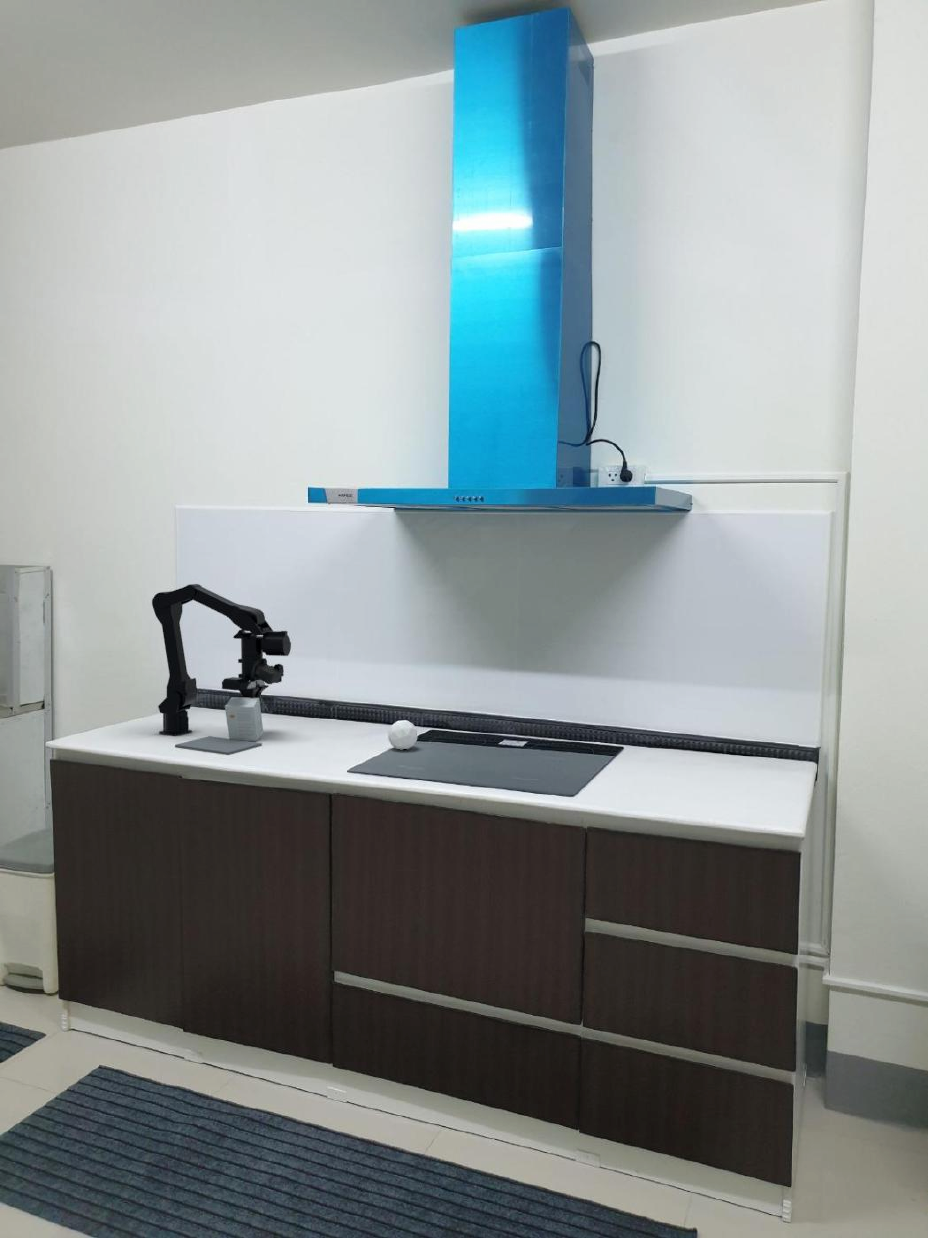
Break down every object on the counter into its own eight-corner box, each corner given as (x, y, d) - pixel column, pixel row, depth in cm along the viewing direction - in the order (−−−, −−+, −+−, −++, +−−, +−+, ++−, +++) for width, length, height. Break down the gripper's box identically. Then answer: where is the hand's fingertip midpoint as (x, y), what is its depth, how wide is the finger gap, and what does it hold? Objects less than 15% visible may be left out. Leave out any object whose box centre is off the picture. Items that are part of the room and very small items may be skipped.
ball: (410, 758, 252) (428, 735, 251) (391, 753, 246) (410, 729, 245) (395, 740, 257) (413, 717, 256) (376, 734, 250) (395, 711, 249)
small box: (263, 731, 263) (260, 697, 259) (257, 741, 258) (253, 706, 254) (235, 730, 264) (231, 696, 260) (228, 740, 259) (224, 705, 255)
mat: (174, 747, 250) (174, 744, 250) (209, 738, 261) (209, 736, 261) (228, 754, 242) (228, 752, 241) (261, 745, 253) (261, 743, 253)
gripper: (253, 660, 250) (254, 719, 251) (296, 653, 266) (297, 708, 267) (220, 658, 255) (221, 716, 256) (264, 651, 271) (265, 705, 272)
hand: (252, 711), depth 263 cm, fingers closed
